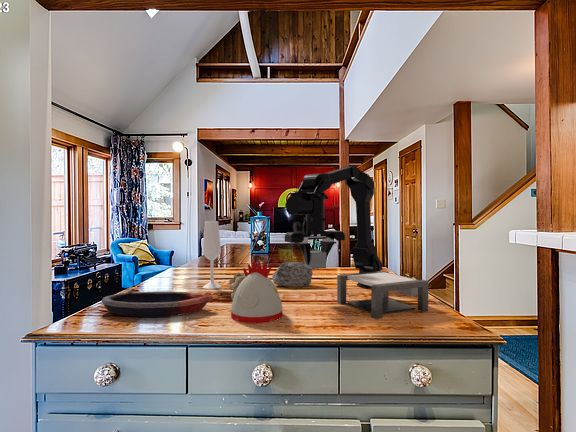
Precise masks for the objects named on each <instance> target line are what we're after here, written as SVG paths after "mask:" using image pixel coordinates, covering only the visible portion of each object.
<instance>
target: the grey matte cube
mask: <svg viewBox="0 0 576 432" xmlns="http://www.w3.org/2000/svg"><path fill="white" fill-rule="evenodd" d="M304 262H305V261H304ZM305 267H306V268H309V269H312V270H319V269H320V270H321V269H327V258H326V252H324V251H321V250H320V249H319V250H310V262H309V265H307V264H306V262H305Z"/></svg>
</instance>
